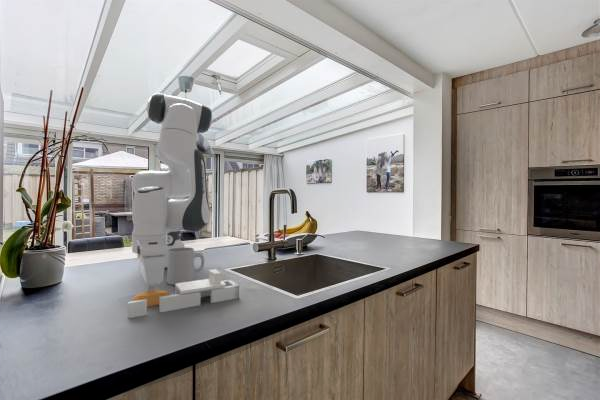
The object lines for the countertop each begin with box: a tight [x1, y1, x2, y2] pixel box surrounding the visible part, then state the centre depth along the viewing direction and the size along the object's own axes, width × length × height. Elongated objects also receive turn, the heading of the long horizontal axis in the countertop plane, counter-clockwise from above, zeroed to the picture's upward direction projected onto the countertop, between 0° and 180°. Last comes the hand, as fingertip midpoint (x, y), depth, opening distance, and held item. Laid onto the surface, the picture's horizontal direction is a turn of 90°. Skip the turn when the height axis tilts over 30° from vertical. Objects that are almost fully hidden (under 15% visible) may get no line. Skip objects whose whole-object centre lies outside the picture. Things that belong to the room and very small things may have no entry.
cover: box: [174, 268, 226, 294], centre depth 86 cm, size 8×12×4 cm, turn 123°
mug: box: [166, 247, 205, 286], centre depth 105 cm, size 12×8×11 cm
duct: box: [127, 279, 240, 319], centre depth 84 cm, size 7×28×4 cm, turn 123°
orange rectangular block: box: [132, 289, 170, 307], centre depth 83 cm, size 3×9×3 cm, turn 122°
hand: (150, 293), depth 85 cm, fingers closed
